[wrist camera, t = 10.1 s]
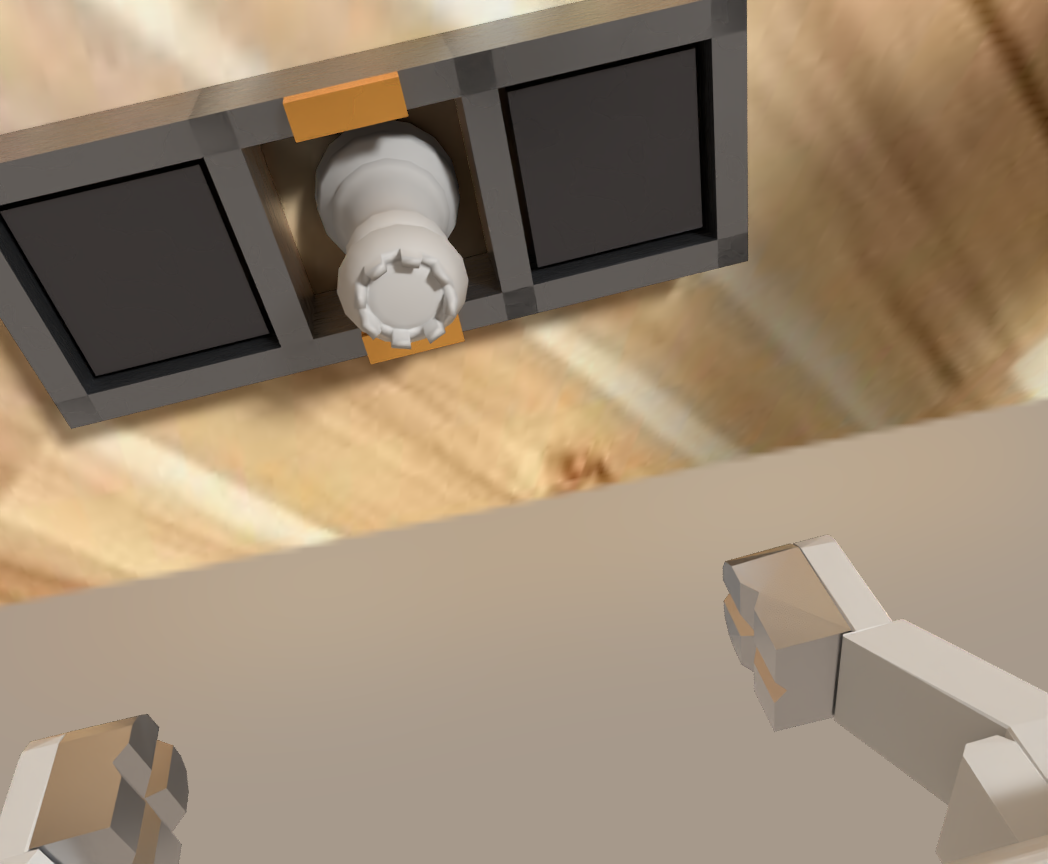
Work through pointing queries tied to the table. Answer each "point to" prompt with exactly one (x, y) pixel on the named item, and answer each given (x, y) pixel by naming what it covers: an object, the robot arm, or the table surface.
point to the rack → (349, 103)
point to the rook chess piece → (393, 231)
